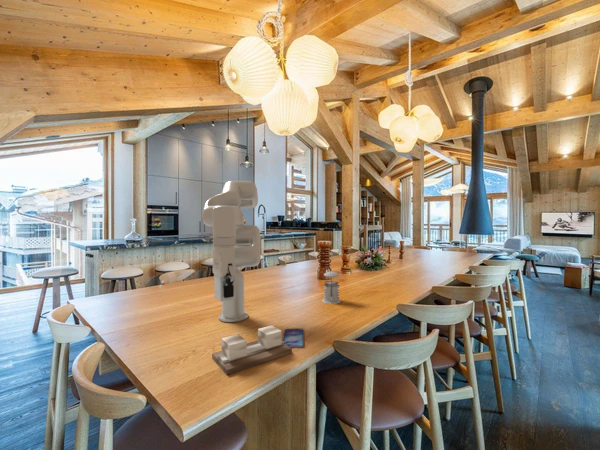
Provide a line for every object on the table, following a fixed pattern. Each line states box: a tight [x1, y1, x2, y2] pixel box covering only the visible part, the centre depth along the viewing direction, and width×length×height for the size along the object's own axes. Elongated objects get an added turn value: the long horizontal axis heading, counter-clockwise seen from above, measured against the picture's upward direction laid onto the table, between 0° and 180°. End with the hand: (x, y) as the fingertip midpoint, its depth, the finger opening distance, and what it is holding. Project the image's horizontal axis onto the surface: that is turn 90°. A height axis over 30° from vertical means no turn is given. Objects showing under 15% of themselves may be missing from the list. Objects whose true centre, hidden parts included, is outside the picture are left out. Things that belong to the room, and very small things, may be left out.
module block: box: [213, 274, 235, 303], centre depth 100 cm, size 6×5×8 cm
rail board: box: [211, 324, 293, 376], centre depth 94 cm, size 12×22×7 cm, turn 126°
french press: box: [321, 252, 341, 305], centre depth 151 cm, size 10×12×25 cm
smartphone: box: [282, 328, 305, 349], centre depth 107 cm, size 7×1×15 cm
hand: (224, 294), depth 100 cm, fingers closed on module block, 6 cm apart
